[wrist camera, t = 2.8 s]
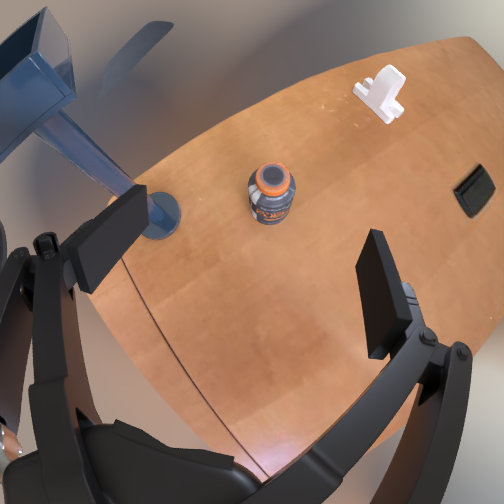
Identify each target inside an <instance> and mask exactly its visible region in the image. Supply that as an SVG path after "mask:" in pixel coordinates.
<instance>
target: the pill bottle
mask: <svg viewBox="0 0 504 504" xmlns="http://www.w3.org/2000/svg"><path fill="white" fill-rule="evenodd" d="M295 189H296V185H295V181H294V178H293V176H292V175H291V174H290V172H289V171H288V170H287V168H286V167H285V166H284V165H282V164H280V163H277V162H267V163H265V164H263V165H262V166H260V167H259V168H258V169H257V170H256V171H255V172H254V173H253V174H252V175H251V177H250V179H249V183H248V191H249V203H250V210H251V213H252V215H253V216H254V218H255V219H256V220H257V221H259V222H260V223H263V224H266V225H274V224H277V223H279V222H281V221H282V220H283V219H284V218H285V217H286V216H287V214H288V212H289V209H290V206H291V203H292V200H293V197H294V194H295Z"/></svg>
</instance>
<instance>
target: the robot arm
mask: <svg viewBox="0 0 504 504" xmlns="http://www.w3.org/2000/svg"><path fill="white" fill-rule="evenodd" d="M148 226H149V218H148V204H147V187H146V185H139V184H135V185H134V186H133V187H131V188H130V189H129V190H128V191H126V192H125V193H124V194H123V195H121V196H120V197H119V198H118V199H116V200H115V201H114V202H113V203H112V204H110V205H109V206H108V207H107V208H106V209H105V210H103V211H102V212H101V213H100V214H99V215H98V216H96V217H95V218H94V219H91V220H89V221H87V222H85V223H83V224H82V225H81V226H80V227H79V228H78V230H76V231H75V232H74V233H73V234H71V235H70V236H69V237H68V238H67V239H66V240H65V241H64V242H63V243H62V244H61V245H60V246H59V243H58V239H57V236H56V234H55V233H54V232H46V233H43V234H41V235H39V236H38V237H36V239H35V240H34V241H33V246H34V248H35V251H36V254H37V255H30V254H29V251H28V248H26V247H20V248H17V249H15V250H14V251H13V252H11V254H10V255H9V257H8V259H7V260H6V262H5V264H4V266H3V268H2V270H1V272H0V483H1V484H2V486H3V493H4V500H5V504H321V503H322V502H324V501H325V499H327V498H328V497H329V496H330V495H331V494H332V493H333V492H334V491H335V490H336V489H337V488H338V487H339V486H340V485H341V483H342V481H343V477H344V476H345V475H346V474H347V472H348V471H349V470H350V469H351V468H352V467H353V466H354V465H355V464H356V463H357V462H358V461H359V459H360V458H361V457H362V456H363V455H364V454H365V453H366V451H367V450H368V449H369V448H370V447H371V446H372V444H373V443H374V442H375V441H376V439H377V438H378V437H379V436H380V434H381V433H382V432H383V431H384V429H385V428H386V427H387V425H388V424H389V423H390V421H391V420H392V419H393V417H394V416H395V415H396V413H397V412H398V410H399V409H400V407H401V406H402V405H403V403H404V402H405V400H406V399H407V397H408V396H409V394H410V393H411V391H412V389H413V388H414V386H415V385H416V383H419V388H418V391H417V394H416V398H415V401H414V404H413V407H412V410H411V413H410V416H409V419H408V422H407V424H406V427H405V430H404V432H403V435H402V438H401V440H400V443H399V445H398V447H397V450H396V452H395V454H394V457H393V459H392V461H391V463H390V465H389V468H388V470H387V472H386V474H385V476H384V478H383V480H382V482H381V484H380V486H379V488H378V490H377V491H376V494H375V495H374V497H373V499H372V501H371V502H370V504H440V503H441V501H442V498H443V496H444V493H445V490H446V488H447V485H448V482H449V479H450V476H451V473H452V470H453V466H454V463H455V460H456V456H457V452H458V449H459V445H460V441H461V436H462V432H463V427H464V422H465V417H466V411H467V405H468V399H469V391H470V383H471V373H472V360H473V358H472V353H471V350H470V349H469V348H468V346H467V345H465V344H464V343H462V342H460V341H459V342H455V343H453V344H452V346H451V347H448V346H446V345H443V344H441V343H439V342H438V338H437V336H436V334H435V333H434V332H433V331H432V330H431V329H430V328H428V327H426V326H425V323H424V319H423V316H422V313H421V310H420V307H419V304H418V301H417V300H416V299H417V298H416V295H415V292H414V290H413V289H412V287H411V286H410V285H409V283H406V282H401V279H400V276H399V273H398V271H397V268H396V265H395V262H394V259H393V257H392V254H391V251H390V249H389V246H388V244H387V241H386V239H385V236H384V234H383V231H379V230H375V229H370V231H369V234H368V236H367V239H366V242H365V244H364V247H363V249H362V252H361V254H360V256H359V259H358V261H357V264H356V266H355V268H356V273H357V279H358V285H359V291H360V297H361V303H362V310H363V317H364V324H365V332H366V340H367V349H368V358H369V359H379V360H383V359H384V358H385V357H386V356H387V355H388V353H390V359H391V360H390V361H389V362H388V363H387V364H386V366H385V367H384V368H383V369H382V370H381V371H380V373H379V374H378V376H377V377H376V378H375V379H374V380H373V382H372V383H371V384H370V385H369V386H368V387H367V388H366V390H365V391H364V392H363V393H362V394H361V395H360V396H359V397H358V399H357V400H356V401H355V402H354V403H353V404H352V405H351V406H350V407H349V408H348V409H347V410H346V411H345V412H344V413H343V414H342V415H341V416H340V417H339V418H338V419H337V420H336V421H335V422H334V423H333V424H332V425H331V426H330V427H329V428H328V429H327V430H326V431H325V432H324V433H323V434H322V435H321V436H320V437H319V438H318V439H317V440H315V441H314V442H313V443H312V444H311V445H310V446H309V447H308V448H306V449H305V450H304V451H303V452H302V453H301V454H299V455H298V456H297V457H296V458H295V459H293V460H292V461H291V462H290V463H289V464H287V465H286V466H285V467H283V468H282V469H281V470H279V471H278V472H277V473H275V474H274V475H273V476H271V477H270V478H268V479H267V480H266V481H264V482H263V483H262V482H261V481H260V480H259V479H258V477H257V476H255V475H254V474H253V473H252V472H251V471H250V470H248V469H247V468H245V467H244V466H242V465H240V464H238V463H236V462H234V456H229V455H224V454H220V453H215V452H211V451H207V450H203V449H183V448H182V449H181V448H171V447H168V446H166V445H165V444H163V443H161V442H160V441H158V440H156V439H155V438H153V437H152V436H150V435H149V434H148V433H146V432H144V431H143V430H141V429H139V428H136V427H134V426H131V425H128V424H126V423H124V422H122V421H119V420H117V419H116V420H115V422H114V424H103V423H102V421H101V419H100V417H99V415H98V413H97V411H96V409H95V406H94V403H93V398H92V395H91V390H90V386H89V382H88V377H87V373H86V368H85V363H84V358H83V352H82V346H81V340H80V333H79V326H78V318H77V309H76V299H75V291H74V287H73V286H74V284H75V283H76V282H77V283H78V285H79V288H80V290H81V291H83V292H86V293H89V294H92V293H93V292H94V291H95V289H96V288H97V287H98V286H99V284H100V283H101V282H102V280H103V279H104V278H105V277H106V275H107V274H108V273H109V272H110V270H111V269H112V268H113V267H114V265H115V264H116V263H117V262H118V260H119V259H120V258H121V257H122V256H123V254H124V253H125V252H126V251H127V250H128V248H129V247H130V246H131V245H132V244H133V243H134V241H135V240H136V239H137V238H138V237H139V236H140V235H141V233H142V232H143V231H144V230H145V229H146V228H147V227H148ZM20 288H21V293H20ZM31 339H32V344H33V367H34V384H32V385H30V386H29V389H28V392H29V393H28V394H29V403H30V410H31V417H32V423H33V429H34V434H35V439H36V444H37V448H38V450H36V451H34V452H32V453H29V454H27V455H25V456H22V457H20V458H19V457H18V455H20V454H21V453H22V446H21V444H20V443H19V442H18V440H17V437H16V436H17V432H18V427H19V422H20V413H21V402H22V392H23V384H24V377H25V371H26V364H27V359H28V354H29V348H30V344H31Z"/></svg>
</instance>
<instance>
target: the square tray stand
mask: <svg viewBox="0 0 504 504" xmlns="http://www.w3.org/2000/svg"><path fill="white" fill-rule="evenodd" d="M76 98H77V96H76V89H75V82H74V74H73V65H72V55H71V43H70V40H69V39H68V38H67V36H66V35H65V33H64V32H63V30H62V29H61V27H60V26H59V24H58V23H57V21H56V20H55V18H54V17H53V15H52V14H51V12H50V10H49V9H48V7H47V6H46V7H44V8H43V9H42V10H41V11H39V12H38V13H36V14H35V15H34V16H32V17H31V18H30V19H29V20H27V21H26V22H25V23H24V24H23V25H21V26H20V27H19V28H17V29H16V30H15V31H14V32H13V33H12V34H10V35H9V36H8V37H7V38H6V39H5V40H4V41H3V42H2V43H0V163H1V162H2V161H3V160H4V159H5V158H6V157H7V156H8V155H9V154H10V153H11V152H12V151H13V150H14V149H15V148H16V147H17V146H18V145H20V144H21V143H22V142H23V141H24V140H25V139H26V138H27V137H28V136H29V135H30V134H32V133H34V134H36V135H37V136H38V137H39V138H41V139H42V140H43V141H44V142H46V143H47V144H48V145H49V146H51V147H52V148H53V149H54V150H56V151H57V152H58V153H60V154H61V155H62V156H63V157H65V158H66V159H67V160H68V161H70V162H71V163H73V164H74V165H75V166H76V167H78V168H79V169H80V170H81V171H83V172H84V173H86V174H87V175H88V176H89V177H91V178H92V179H93V180H95V181H96V182H97V183H99V184H100V185H101V186H103V187H104V188H105V189H107V190H108V191H110V192H111V193H112V194H113V195H115V196H116V197H117V198H119V197H120V196H121V195H123V194H124V193H125V192H126V191H128V190H129V189H130V188H131V187H133V186H134V185H135V184H136V183H135V182H134V181H133V180H132V179H131V178H130V177H129V176H128V175H127V174H126V173H125V172H124V171H123V170H122V169H121V168H120V167H119V166H118V165H117V164H116V163H115V162H114V161H113V160H112V159H111V158H110V157H109V156H108V155H107V154H105V152H103V150H101V148H99V147H98V146H97V145H96V144H95V143H94V142H93V141H92V140H91V139H90V138H89V137H88V136H87V135H86V134H85V133H84V132H83V131H82V130H81V128H80V127H78V126H77V124H76V123H75V122H74V121H73V120H72V119H71V118H70V117H69V116H68V115H67V114H66V113H65V112H64V111H63V110H62V108H63V107H65V106H66V105H67V104H68V103H70V102H71V101H73V100H74V99H76ZM147 204H148V218H149V226H148V227H147V228H146V229H145V230H144V231H143V232H142V233H141V234H142V235H143V236H145V237H147V238H149V239H152V240H160V239H164V238H166V237H168V236H169V235H171V234H172V233H173V232H174V231H175V230H176V228H177V227H178V225H179V222H180V218H181V210H180V206H179V204H178V202H177V201H176V200H175V198H174V197H172V196H171V195H170V194H168V193H164V192H156V193H152V194H150V195H148V194H147Z"/></svg>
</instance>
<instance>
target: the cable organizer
mask: <svg viewBox="0 0 504 504" xmlns="http://www.w3.org/2000/svg"><path fill="white" fill-rule="evenodd" d="M405 80H406V77H405V76H403V75H402V74H401V73H400V72H399V71H398V70H397V69H395V68H394V67H393V66H392V65H387V66H385V67H384V68H383V69H382V70H381V71H380V72H379V73H378V74H377V76H376V78H375V80H374V81H373V80H372V79H371V78H366V79H364V82H363V84H362V85H363V86H364V87H363V86H362V85H361V84H360V83H359V82H358V83H356V84H355V85H354V88H353V90H352V92H353V93H354V94H355V95H356V96H357V97H359V98H360V99H361V100H362V101H363V102H364V103H365V104H366V105H367V106H368V107H369V108H371V109H372V110H373V111H374V112H375V113H376V114H377V115H378V116H379V117H380V118H381V119H382V120H383V121H384V122H385V123H386V124H389V123H391V122H392V121H393V120H394V118H395V117H397V118H398V117H400V116H401V114H402V113H403V111H404V108H403V107H402V106H401V105H400V104H399V103H398V102H397V101H396V100H395V97H396V95H397V94H398V92H399V91H400V89H401V87H402V86H403V84H404V82H405Z"/></svg>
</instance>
